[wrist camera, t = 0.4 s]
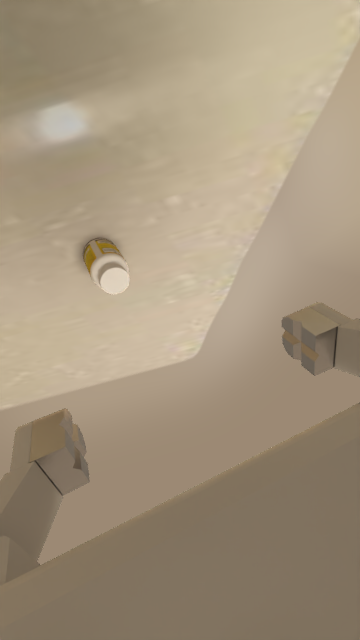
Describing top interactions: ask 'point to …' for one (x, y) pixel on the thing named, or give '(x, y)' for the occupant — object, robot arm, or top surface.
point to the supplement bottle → (106, 266)
